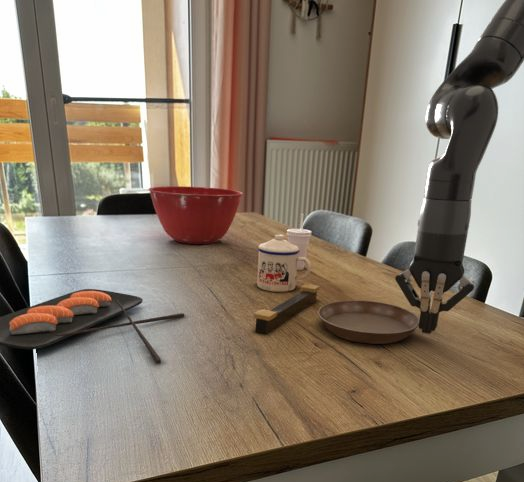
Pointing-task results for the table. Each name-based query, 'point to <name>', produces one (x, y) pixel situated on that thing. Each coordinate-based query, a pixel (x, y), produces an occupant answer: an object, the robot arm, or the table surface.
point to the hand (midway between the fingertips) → (426, 331)
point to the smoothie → (300, 241)
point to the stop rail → (285, 309)
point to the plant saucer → (368, 321)
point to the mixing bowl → (195, 212)
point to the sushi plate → (70, 319)
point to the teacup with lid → (279, 265)
